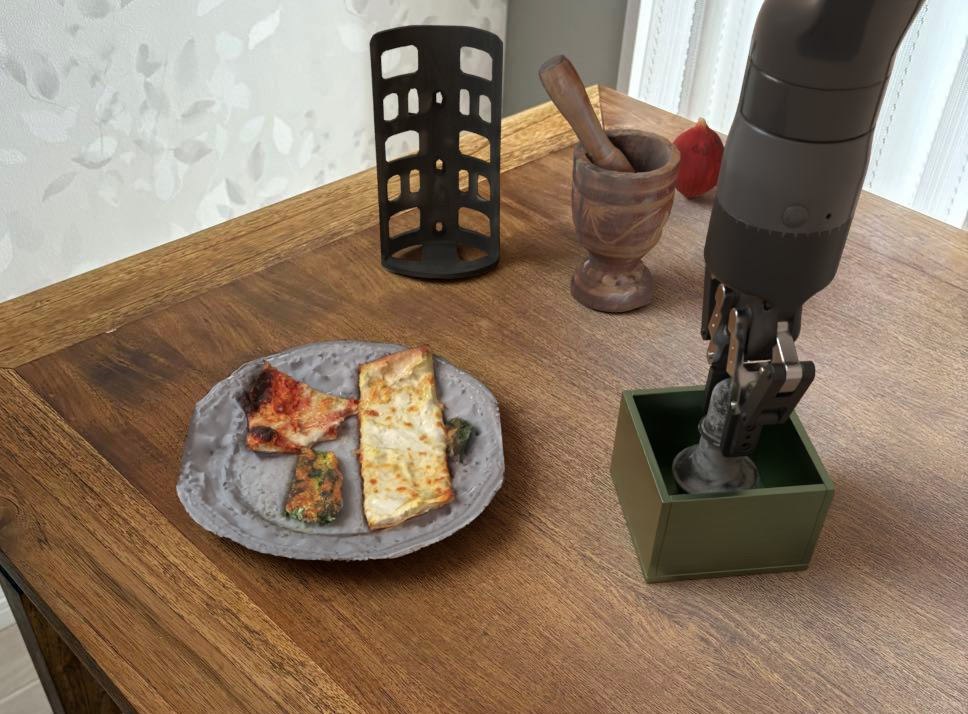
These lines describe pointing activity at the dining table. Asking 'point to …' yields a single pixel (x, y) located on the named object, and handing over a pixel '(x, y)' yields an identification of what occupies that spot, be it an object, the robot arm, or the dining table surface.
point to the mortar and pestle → (612, 196)
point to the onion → (698, 160)
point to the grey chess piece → (713, 454)
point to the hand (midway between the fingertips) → (726, 430)
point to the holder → (438, 148)
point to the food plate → (342, 451)
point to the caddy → (714, 494)
